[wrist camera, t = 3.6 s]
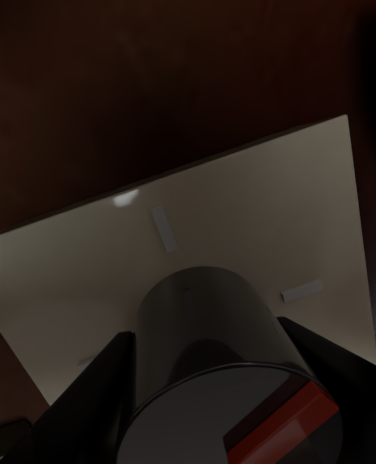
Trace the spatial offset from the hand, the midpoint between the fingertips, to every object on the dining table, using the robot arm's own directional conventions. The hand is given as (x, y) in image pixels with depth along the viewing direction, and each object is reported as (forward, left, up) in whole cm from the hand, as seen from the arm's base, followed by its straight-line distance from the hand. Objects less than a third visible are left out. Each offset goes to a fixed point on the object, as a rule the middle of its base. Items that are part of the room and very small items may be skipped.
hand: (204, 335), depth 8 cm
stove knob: (0, 0, 0) cm, 0 cm away
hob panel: (0, 0, -4) cm, 4 cm away
